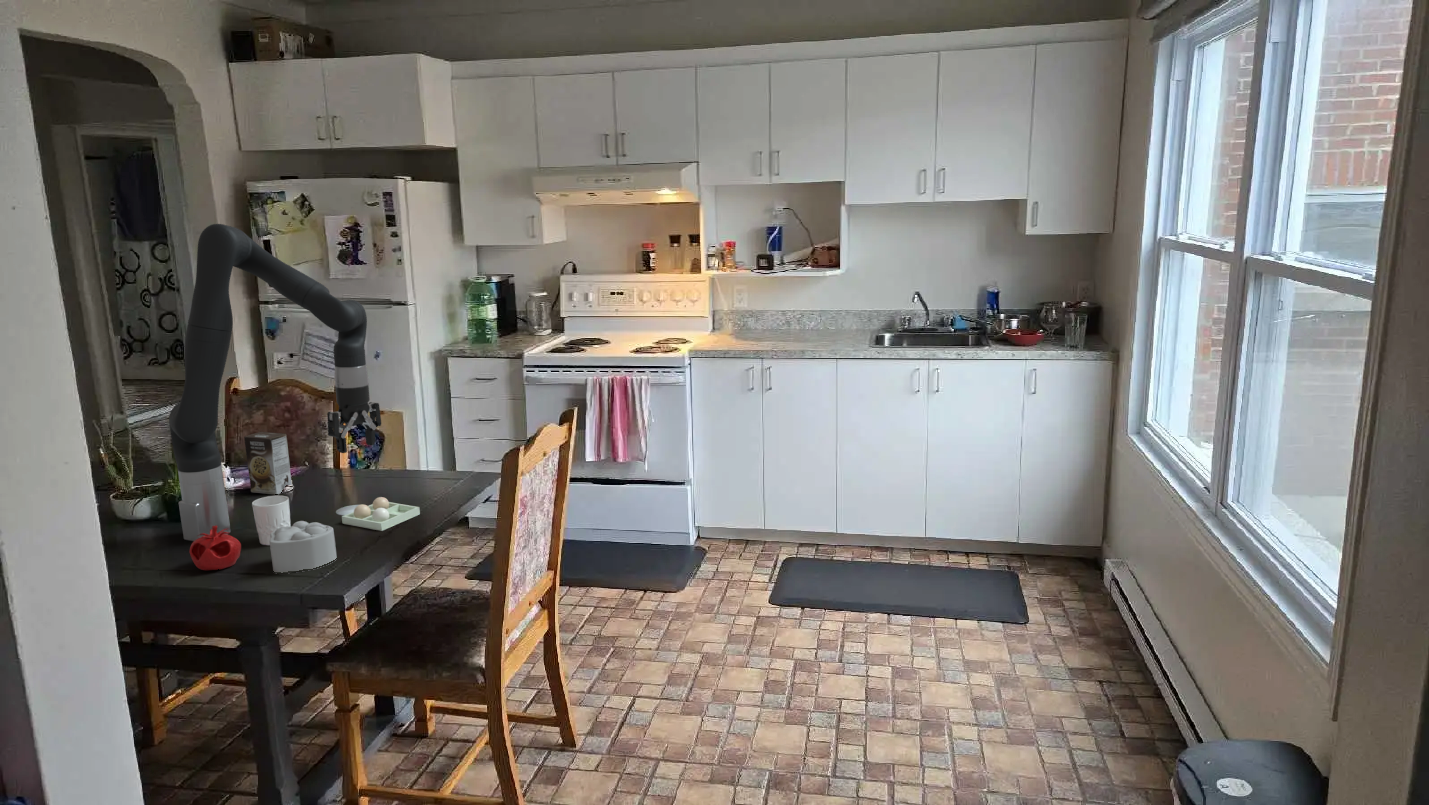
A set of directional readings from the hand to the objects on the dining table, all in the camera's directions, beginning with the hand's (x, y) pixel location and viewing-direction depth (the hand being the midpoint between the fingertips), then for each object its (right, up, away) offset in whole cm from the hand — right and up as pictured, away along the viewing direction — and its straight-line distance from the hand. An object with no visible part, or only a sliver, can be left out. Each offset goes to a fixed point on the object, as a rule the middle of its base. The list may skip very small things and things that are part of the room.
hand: (356, 448), depth 227 cm
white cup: (-17, -22, -6) cm, 28 cm away
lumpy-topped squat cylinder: (-4, -25, -20) cm, 32 cm away
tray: (+4, -19, +6) cm, 20 cm away
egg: (+6, -19, +1) cm, 19 cm away
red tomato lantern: (-23, -25, -20) cm, 40 cm away
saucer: (-6, -17, +13) cm, 22 cm away
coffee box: (-36, -14, +32) cm, 50 cm away
